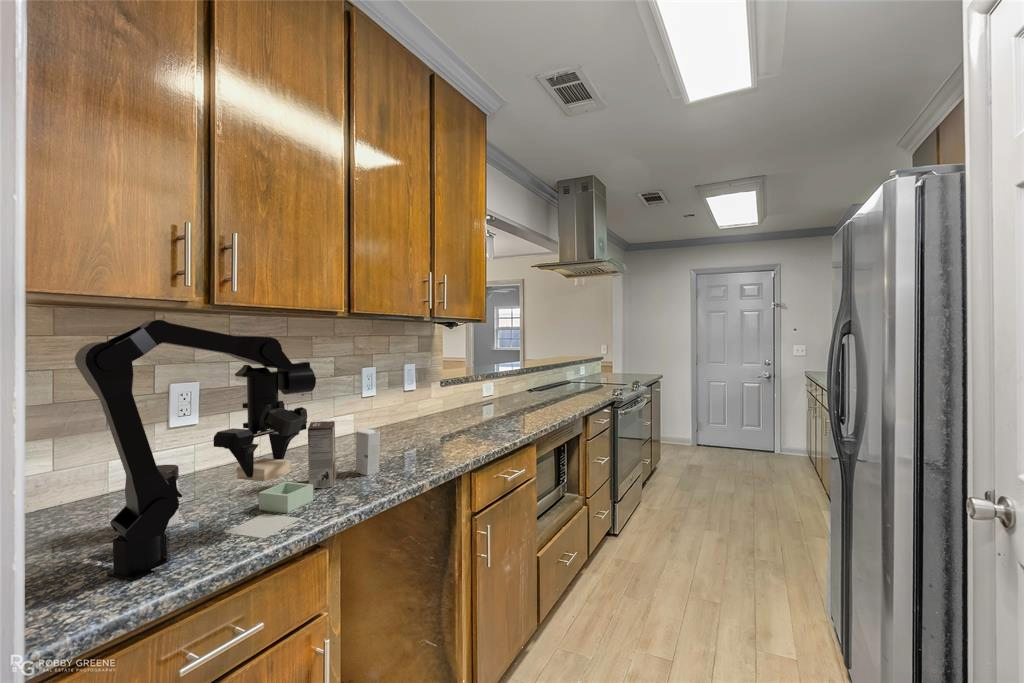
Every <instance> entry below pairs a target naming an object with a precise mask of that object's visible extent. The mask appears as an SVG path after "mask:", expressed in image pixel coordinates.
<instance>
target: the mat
mask: <svg viewBox="0 0 1024 683" xmlns="http://www.w3.org/2000/svg"><path fill="white" fill-rule="evenodd" d="M301 519H302V518H301V517H294V516H285V515H277V514H270V513H263V514H260V515H259V516H256V517H254V518H252V519H250V520H247V521H245V522H243V523H241V524H239V525H236V526H235V527H233V528H230V529H228V530H225V531H224V533H226V534H233V535H239V536H246V537H253V538H259V539H266V538H268V537H269V536H272V535H273V534H275V533H277V532H279V531H280V530H283V529H285V528H286V527H289V526H290V525H292V524H294V523H296V522H298V521H300V520H301Z"/></svg>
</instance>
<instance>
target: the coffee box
mask: <svg viewBox="0 0 1024 683" xmlns="http://www.w3.org/2000/svg"><path fill="white" fill-rule="evenodd" d="M335 423H336V421H335V420H331V421H323V420H321V421H312V422H310V424H309V425H308V426H307V427H308V428H307V447H308V448H307V452H308V453H307V457H308V458H307V460H308V464H307V465H308V484H313V490H315V489H314V488H322V489H328V488H327V487H332V488H334V487H335V484H336V478H337V477H336V475H337V474H336V473H337V471H336V470H337V468H336V466H337V464H336V433H335V432H336V429H335V428H336V426H335V425H336V424H335ZM325 487H326V488H325Z"/></svg>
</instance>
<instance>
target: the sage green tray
mask: <svg viewBox="0 0 1024 683" xmlns="http://www.w3.org/2000/svg"><path fill="white" fill-rule="evenodd" d="M313 502H314V489H313V484H309V483H302V482H301V483H300V482H291V481H284V482H282V483H279V484H277V485H274V486H271V487H269V488H267V489H264V490H262V491H260V492H258V510H259V511H265V512H270V513H271V512H272V513H280V514H281V513H282V514H291V513H292V512H294V511H296V510H298V509H300V508H302V507H304V506H306V505H308V504H310V503H313Z"/></svg>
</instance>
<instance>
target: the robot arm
mask: <svg viewBox="0 0 1024 683" xmlns="http://www.w3.org/2000/svg"><path fill="white" fill-rule="evenodd" d="M162 344H165V345H171V346H177V347H183V348H190V349H194V350H201V351H205V352H206V351H207V352H212V353H219V354H224V355H227V356H229V357H232V358H235V359H237V360H239V361H242V362H245V363H248V364H243V366H242V367H241V368H240V369H239V370H238V371H237V372H234V376H235V377H240V378H246V399H247V402H243V403H242V409H247V422H243V423H242V428H228V429H223V430H220V431H216V433H215V434H214V436H213V447H214V448H223V449H227V450H229V452H230V453H231V454H232V456H233V457H234V458H235V460H236V461H237V463H238V465H239V466H241V468H242V469H243V471H244V473H245V474H246V476H247V477H250V478H251V477H253V470H254V461H255V459H254V458H255V457H254V454H255V451H256V450H257V448H258V446H259V445H260V444H259V443H254V441H255V440H254V439H255V438H258V437H262V436H266V435H268V437H269V442H270V448H271V454H272V459H281V460H285V459H284V458H285V456H286V453H287V450H288V447H289V445H290V442H292V440H293V439H294V438H295V437H297V436H298V435H299V434H300V433H301V431H304V430H307V423H308V420H307V419H308V411H307V408H305V407H302V406H301V407H300V406H299V407H295V408H294V409H286V408H285V402H284V400H279V391H280V392H281V393H282V394H283V395H295V394H301V393H310V392H313V391H314V389H315V387H316V384H317V377H316V375H315V372H314V370H313V368H311V362H309V361H299V362H295V363H292V361H291V360H290V359H289V357H288V356H287V355H286V354H285V352H284V351H283V347H282V344H281V343H280V340H278V339H277V338H275V337H272V336H255V335H254V336H253V335H252V336H249V335H247V336H246V335H232V334H226V333H222V332H216V331H213V330H212V331H211V330H206V329H202V328H196V327H192V326H187V325H182V324H177V323H171V322H168V321H166V320H163V319H153V320H152V319H151V320H150V319H149V320H146V321H144V322H143V323H142V324H140V325H139V326H136V327H134V328H132V329H130V330H128V331H125V332H124V333H121V334H118V335H117V336H114V337H112V338H110V339H108V340H105V341H98V342H97V341H93V342H90V343H87V344H85V345H83V346H82V347H80V349H78V351H77V352H76V354H75V356H74V361H75V366H76V368H77V369H78V371H79V373H80V374H81V376H82V377H83V379H84V380H85V382H86V384H87V385H88V386H89V387H90V389H92V391H93V392H94V394H95V395H96V396H97V398H98V399H99V402H100V404H101V407H102V410H103V412H104V416H105V418H106V422H107V424H108V427H109V430H110V432H111V435H112V438H113V441H114V444H115V447H116V450H117V452H118V455H119V458H120V462H121V464H122V467H123V470H124V473H125V485H124V486H125V487H124V495H125V496H124V497H125V506H124V507H123V508H121V510H120V511H119V512H118V513H117V514H116V515H115V516H114V517H113V518H112V519H111V520H110V522H109V524H110V526H111V527H112V529H113V531H114V532H115V533H117V534H119V535H118V536H117V537H116V538H113V539H112V564H113V567H112V569H111V570H108V571H107V572H106V575H107V576H109V577H114V578H118V579H124V580H129V581H135V580H137V579H140V578H141V577H144V576H146V575H148V574H150V573H152V572H154V569H156V568H158V567H161V566H162V565H165V564H167V563H168V562H171V561H172V558H167V556H168V546H167V545H168V544H167V542H168V541H167V540H168V538H167V533H166V530H167V528H168V527H167V525H168V522H169V520H170V518H171V517H172V516H173V515H174V514H175V513H176V511H177V510H178V508H179V509H180V499H179V500H178V497H179V498H182V497H183V495H182V494H181V493H180V491H179V489H178V490H177V485H176V478H175V476H174V475H172V474H170V473H167V472H165V471H163V470H162V471H159V470H158V468H157V463H156V460H155V458H154V454H153V451H152V448H151V445H150V443H149V440H148V437H147V433H146V430H145V427H144V424H143V421H142V419H141V416H140V412H139V410H138V407H137V403H136V401H135V398H134V395H133V384H134V366H133V362H134V361H136V360H137V359H139V358H141V357H143V356H145V355H146V354H147V353H149V352H150V351H152V350H153V349H154V348H156V347H157V346H159V345H162ZM250 364H252V365H260V366H262V367H253V366H252V365H250ZM269 368H270V369H276V370H274V371H271V370H270V369H269Z"/></svg>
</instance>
